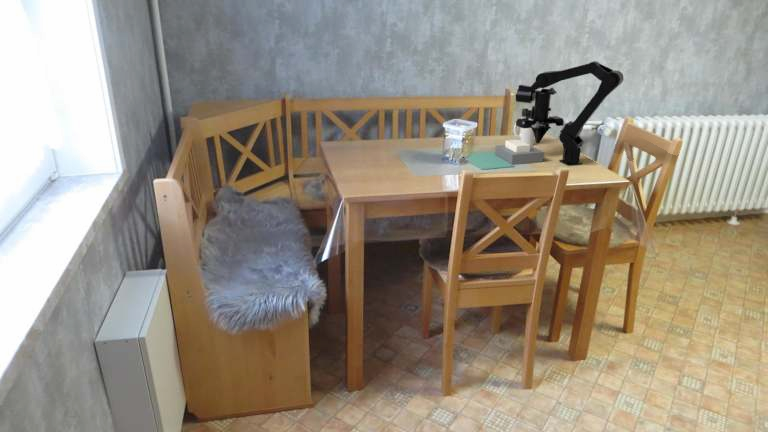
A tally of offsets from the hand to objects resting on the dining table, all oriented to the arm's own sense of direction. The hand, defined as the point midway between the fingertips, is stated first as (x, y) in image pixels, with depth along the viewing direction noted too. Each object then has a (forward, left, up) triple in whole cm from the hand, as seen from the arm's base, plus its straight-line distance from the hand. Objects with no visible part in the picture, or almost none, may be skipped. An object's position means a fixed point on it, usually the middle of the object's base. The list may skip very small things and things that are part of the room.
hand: (537, 143), depth 222 cm
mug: (+19, -5, -6) cm, 21 cm away
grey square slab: (0, +8, -6) cm, 10 cm away
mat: (0, +23, -6) cm, 23 cm away
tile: (0, +9, -1) cm, 9 cm away
